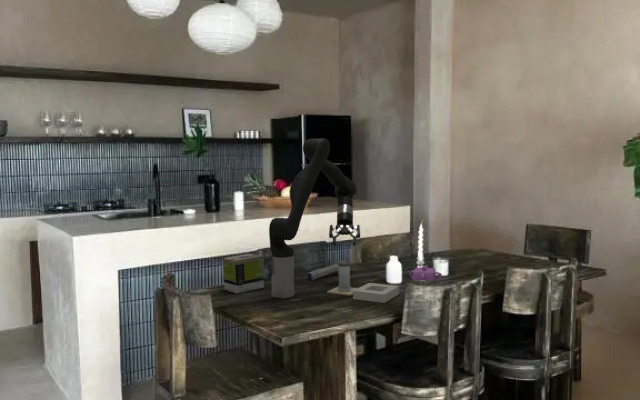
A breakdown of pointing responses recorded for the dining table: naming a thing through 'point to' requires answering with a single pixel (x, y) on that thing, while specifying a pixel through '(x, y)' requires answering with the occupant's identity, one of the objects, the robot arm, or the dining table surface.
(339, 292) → the mat
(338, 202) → the robot arm
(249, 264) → the tea box
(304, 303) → the dining table surface
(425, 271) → the teapot
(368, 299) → the housing
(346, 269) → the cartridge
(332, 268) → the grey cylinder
